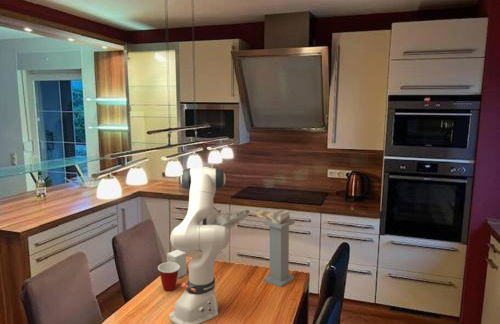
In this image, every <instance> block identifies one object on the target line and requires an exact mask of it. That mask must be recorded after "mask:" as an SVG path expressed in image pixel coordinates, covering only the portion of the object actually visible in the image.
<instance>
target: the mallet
mask: <svg viewBox="0 0 500 324" xmlns="http://www.w3.org/2000/svg"><path fill="white" fill-rule="evenodd" d="M254 213H255V217H256V218H260V219H265V220H272V222H273V223H277V224H283V223H285V222H287V221H289V219H290V215H291V214H290V210H288V209H287V210H286V209H283V208H282V209H279V210H278V209H277V210H276V211H273V212H271V211H267V210H261V209H258V210H256V209H255V211H254Z"/></svg>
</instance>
